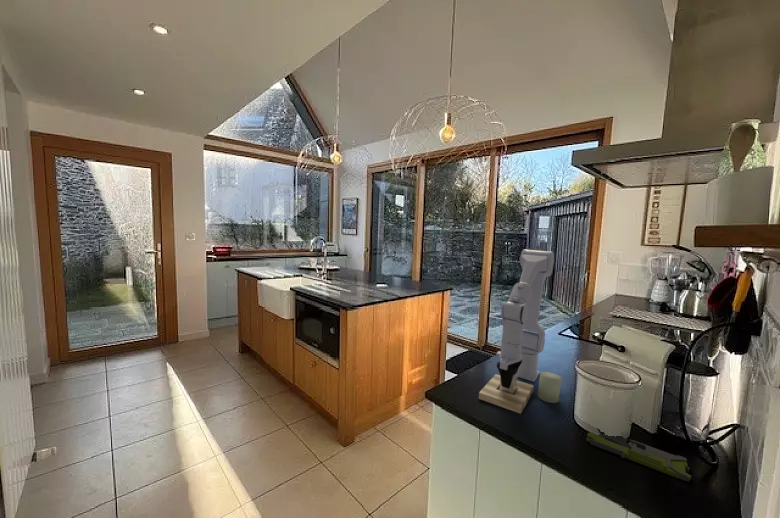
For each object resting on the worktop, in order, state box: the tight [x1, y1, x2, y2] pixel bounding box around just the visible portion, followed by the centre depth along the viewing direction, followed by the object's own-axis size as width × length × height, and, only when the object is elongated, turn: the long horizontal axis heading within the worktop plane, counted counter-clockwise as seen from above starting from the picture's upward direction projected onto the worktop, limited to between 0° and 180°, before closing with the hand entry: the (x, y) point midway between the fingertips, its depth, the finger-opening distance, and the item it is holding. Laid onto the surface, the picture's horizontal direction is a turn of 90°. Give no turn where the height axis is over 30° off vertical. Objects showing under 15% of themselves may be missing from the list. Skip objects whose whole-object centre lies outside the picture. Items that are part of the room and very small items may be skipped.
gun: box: [585, 432, 692, 482], centre depth 79 cm, size 2×19×15 cm
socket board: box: [478, 373, 535, 415], centre depth 100 cm, size 16×12×2 cm
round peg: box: [536, 371, 562, 404], centre depth 100 cm, size 6×6×7 cm
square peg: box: [500, 370, 519, 395], centre depth 100 cm, size 4×4×7 cm
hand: (507, 384), depth 100 cm, fingers closed on square peg, 4 cm apart
